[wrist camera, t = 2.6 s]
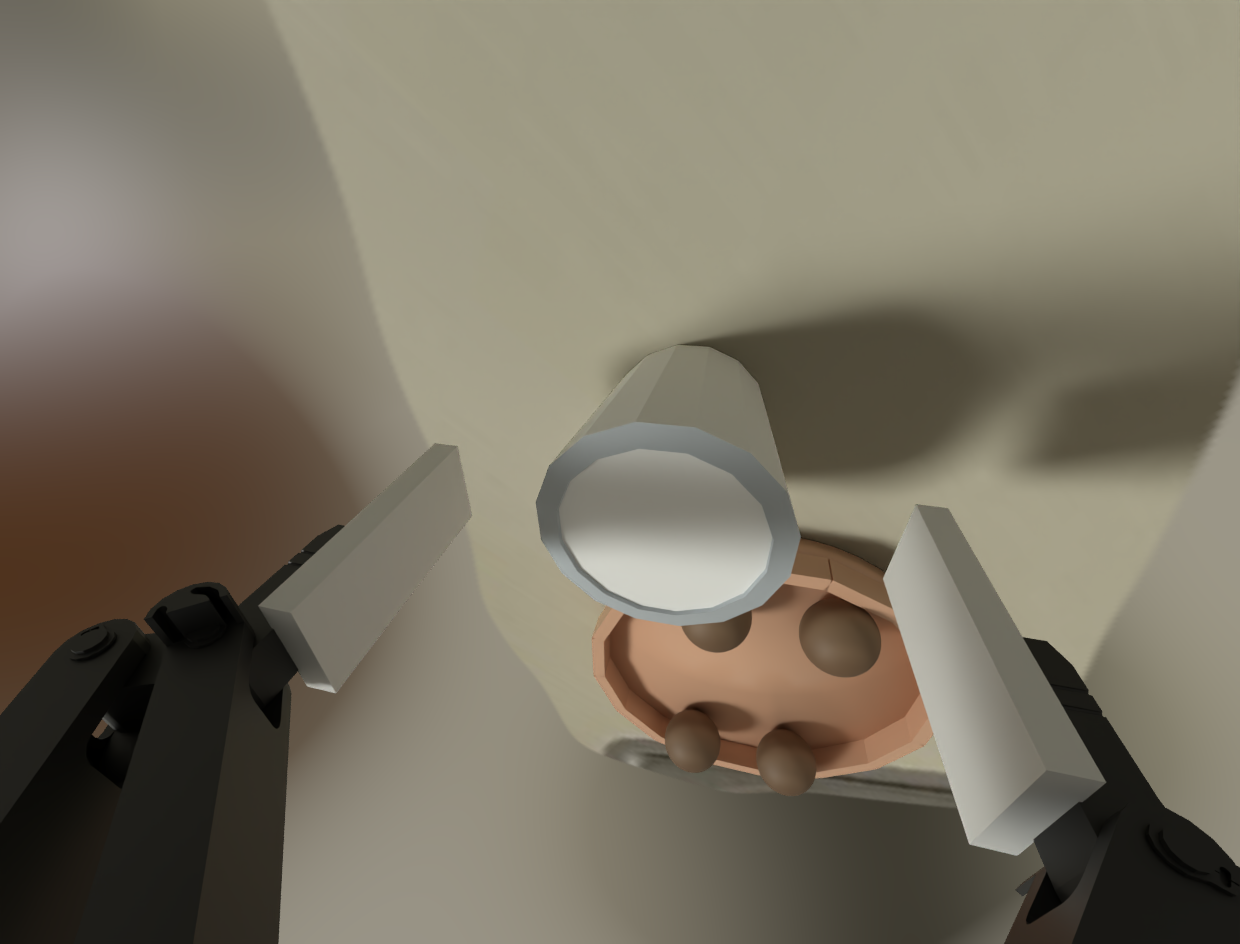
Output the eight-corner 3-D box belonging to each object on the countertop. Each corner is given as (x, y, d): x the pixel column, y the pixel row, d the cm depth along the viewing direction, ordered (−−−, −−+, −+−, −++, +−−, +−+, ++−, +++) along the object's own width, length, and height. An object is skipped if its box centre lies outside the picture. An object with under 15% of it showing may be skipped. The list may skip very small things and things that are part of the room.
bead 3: (760, 712, 26) (761, 771, 23) (819, 725, 25) (826, 786, 23) (751, 740, 27) (751, 798, 25) (806, 752, 27) (811, 812, 24)
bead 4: (804, 577, 20) (812, 637, 17) (882, 589, 19) (901, 653, 17) (789, 623, 21) (794, 684, 19) (860, 636, 21) (875, 700, 18)
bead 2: (670, 693, 26) (662, 748, 24) (725, 705, 26) (722, 762, 24) (667, 721, 28) (659, 775, 26) (718, 732, 28) (715, 789, 25)
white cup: (827, 405, 16) (867, 540, 11) (703, 518, 20) (685, 659, 15) (668, 283, 15) (620, 363, 10) (569, 427, 19) (495, 543, 14)
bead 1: (685, 557, 20) (677, 613, 18) (757, 569, 20) (758, 627, 18) (680, 604, 22) (672, 659, 20) (746, 615, 22) (745, 674, 19)
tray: (600, 508, 21) (587, 540, 20) (998, 566, 18) (1025, 611, 17) (605, 702, 30) (596, 736, 29) (872, 761, 28) (881, 804, 26)
